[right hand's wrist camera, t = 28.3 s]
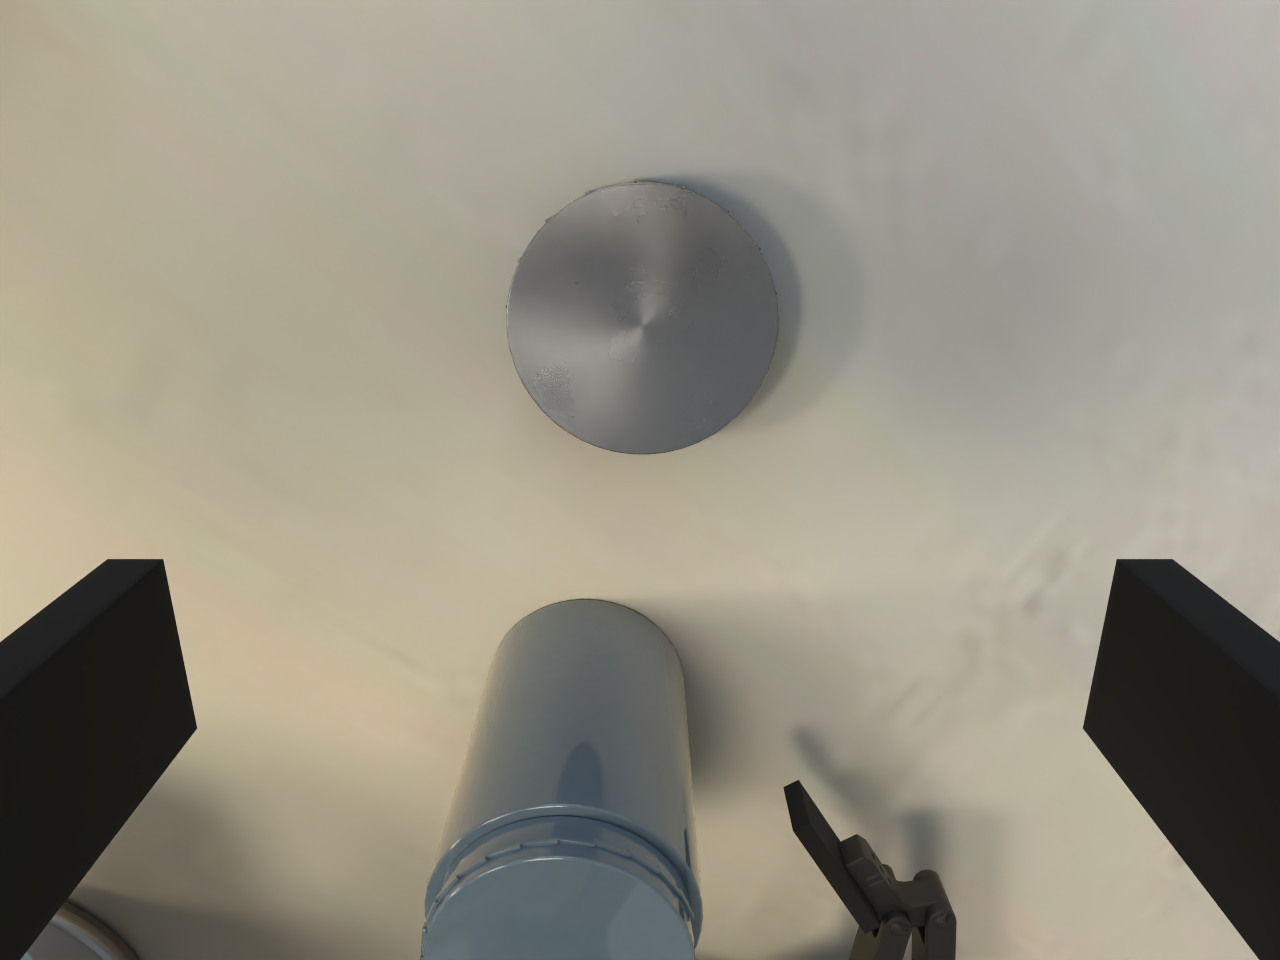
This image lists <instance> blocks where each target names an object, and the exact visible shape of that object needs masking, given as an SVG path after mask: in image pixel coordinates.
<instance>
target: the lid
mask: <svg viewBox="0 0 1280 960" xmlns="http://www.w3.org/2000/svg"><path fill="white" fill-rule="evenodd" d="M728 213H729V211H728V210H726V209H725V208H723V209H721V208H720V207H719V206H717V205H716V204H714V203H713V202H711V201H709V200H708V199H706V198H705V197H703V196H701V195H698V194H696V193H694V192H692V191H690V190H688V189H686V187H684V186H681V187H678V186H674V185H671V184H665V183H658V182H639V181H637V179H634V182H627V183H619V184H615V185H611V186H607V187H603V188H600V189H598V190H595V191H593V192H591V191H590V190H589V191H587V192H586V195H584V196H582V197H580V198H578V199H577V200H575V201H573V202H572V203H570V204H569V205H567V206H566V207H565V208H564V209H562V210H561V211H560V212H558V213H557V214H556V215H555V216H553V217H549V218H548V219H547V220H546V224H545V225H544V226H543V227H542V228H541V229H540V230H539V231H538V233H537V234H536V235H535V237H534V238H533V240H532V241H531V242H530V244H529V245H528V246H527V248H526V250H525V252H524V254H523V256H522V257H521V258H520V259H519V260H518V262H519V263H518V266H517V268H516V271H515V274H514V276H513V279H512V283H511V287H510V292H509V296H508V304H507V306H506V308H507V335H508V341H509V347H510V351H511V355H512V358H513V361H514V365H515V367H516V370H517V372H518V374H519V376H520V379H521V381H522V383H523V384H524V386H525V388H526V389H527V391H528V393H529V394H530V396H531V397H532V399H533V400H534V401H535V402H536V404H537V405H538V406H539V407H540V409H541V410H542V411H543V412H544V413H545V414H546V415H547V416H548V417H549V418H550V419H551V420H553V421H554V422H555V423H556V424H557V425H559V426H560V427H561V428H563V429H564V430H565V431H567V432H568V433H570V434H572V435H573V436H575V437H577V438H579V439H580V440H582V441H584V442H587V443H589V444H592V445H594V446H597V447H599V448H603V449H607V450H610V451H614V452H621V453H628V454H656V453H665V452H669V451H674V450H678V449H682V448H685V447H687V446H690V445H693V444H695V443H698V442H700V441H702V440H704V439H706V438H707V437H709V436H711V435H713V434H714V433H716V432H717V431H719V430H720V429H722V428H723V427H725V426H726V425H727V424H728V423H729V422H731V421H732V420H733V419H734V418H735V417H736V416H737V415H738V414H739V413H740V412H741V411H742V410H743V409H744V408H745V406H746V405H747V404H748V403H749V402H750V401H751V399H752V398H753V396H754V395H755V393H756V392H757V390H758V389H759V387H760V385H761V383H762V381H763V379H764V377H765V375H766V373H767V371H768V368H769V366H770V363H771V360H772V357H773V354H774V349H775V344H776V340H777V328H778V309H777V299H776V295H777V293H776V291H775V289H774V284H773V281H772V278H771V275H770V272H769V269H768V266H767V264H766V262H765V260H764V258H763V256H762V254H761V252H760V247H759V246H758V245H756V244H755V243H754V241H753V240H752V238H751V237H750V235H749V234H748V233H747V232H746V231H745V230H744V229H743V228H742V227H741V225H740V224H739V223H738V222H737V221H736V220H735V219H733V218H732V217H731V216H730V215H729V214H728Z"/></svg>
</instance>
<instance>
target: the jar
mask: <svg viewBox="0 0 1280 960" xmlns="http://www.w3.org/2000/svg"><path fill="white" fill-rule="evenodd" d="M425 918H426V921H425V923H424V926H423V931H422V948H421V957H420V959H421V960H695V948H696V946H697V943H698V940H699V936H700V933H701V928H702V920H703V909H702V894H701V882H700V870H699V858H698V846H697V834H696V821H695V809H694V797H693V785H692V773H691V761H690V749H689V736H688V724H687V712H686V700H685V688H684V676H683V671H682V666H681V663H680V660H679V658H678V655H677V653H676V651H675V649H674V647H673V645H672V644H671V642H670V641H669V640H668V638H667V637H666V636H665V634H664V633H663V632H662V631H661V630H660V629H659V628H658V627H657V626H656V625H654V624H653V623H652V622H650V621H649V620H648V619H647V618H645V617H643V616H642V615H640V614H638V613H637V612H635V611H633V610H630V609H628V608H626V607H624V606H620V605H617V604H614V603H610V602H605V601H599V600H571V601H565V602H559V603H556V604H553V605H549V606H546V607H544V608H542V609H539V610H537V611H535V612H533V613H532V614H530V615H528V616H527V617H525V618H524V619H522V620H521V621H520V622H519V623H517V624H516V625H515V626H514V627H513V628H512V629H511V630H510V631H509V632H508V633H507V634H506V636H505V637H504V639H503V640H502V641H501V643H500V645H499V647H498V648H497V650H496V652H495V655H494V658H493V661H492V664H491V667H490V671H489V674H488V678H487V681H486V685H485V688H484V692H483V695H482V698H481V702H480V705H479V709H478V712H477V716H476V719H475V723H474V726H473V730H472V733H471V737H470V740H469V744H468V747H467V751H466V754H465V758H464V761H463V765H462V768H461V771H460V775H459V778H458V782H457V785H456V789H455V792H454V796H453V799H452V803H451V806H450V810H449V813H448V817H447V820H446V824H445V827H444V831H443V834H442V838H441V841H440V844H439V848H438V851H437V855H436V858H435V862H434V865H433V869H432V872H431V876H430V879H429V883H428V886H427V891H426V898H425Z"/></svg>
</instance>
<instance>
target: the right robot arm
mask: <svg viewBox="0 0 1280 960" xmlns="http://www.w3.org/2000/svg"><path fill="white" fill-rule="evenodd" d="M196 729H197V726H196V721H195V716H194V711H193V706H192V701H191V696H190V691H189V686H188V681H187V676H186V671H185V666H184V661H183V656H182V651H181V646H180V641H179V636H178V631H177V626H176V621H175V616H174V611H173V606H172V601H171V596H170V591H169V586H168V581H167V576H166V571H165V566H164V561H163V559H107V560H106V561H105V562H103V563H102V564H101V565H99V566H98V567H97V568H96V569H94V570H93V571H92V572H90V573H89V574H88V575H87V576H85V577H84V578H83V579H81V580H80V581H79V582H77V583H76V584H75V585H74V586H72V587H71V588H70V589H68V590H67V591H66V592H65V593H63V594H62V595H61V596H59V597H58V598H57V599H56V600H54V601H53V602H52V603H50V604H49V605H48V606H46V607H45V608H44V609H43V610H41V611H40V612H39V613H37V614H36V615H35V616H34V617H32V618H31V619H30V620H28V621H27V622H26V623H24V624H23V625H22V626H21V627H19V628H18V629H17V630H15V631H14V632H13V633H12V634H10V635H9V636H8V637H6V638H5V639H4V640H3V641H1V642H0V960H21V959H22V957H23V956H24V955H25V953H26V952H27V951H28V949H29V948H30V947H31V945H32V944H33V943H34V941H35V940H36V939H37V938H38V936H39V935H40V934H41V932H42V931H43V930H44V928H45V927H46V926H47V924H48V923H49V922H50V920H51V919H52V918H53V917H54V915H55V914H56V913H57V911H58V910H59V909H60V907H61V906H62V905H63V903H64V902H65V901H66V899H67V898H68V897H69V896H70V894H71V893H72V892H73V890H74V889H75V888H76V886H77V885H78V884H79V882H80V881H81V880H82V879H83V877H84V876H85V875H86V873H87V872H88V871H89V869H90V868H91V867H92V865H93V864H94V863H95V861H96V860H97V859H98V858H99V856H100V855H101V854H102V852H103V851H104V850H105V848H106V847H107V846H108V844H109V843H110V842H111V840H112V839H113V838H114V837H115V835H116V834H117V833H118V831H119V830H120V829H121V827H122V826H123V825H124V823H125V822H126V821H127V819H128V818H129V817H130V816H131V814H132V813H133V812H134V810H135V809H136V808H137V806H138V805H139V804H140V802H141V801H142V800H143V799H144V797H145V796H146V795H147V793H148V792H149V791H150V789H151V788H152V787H153V785H154V784H155V783H156V781H157V780H158V779H159V778H160V776H161V775H162V774H163V772H164V771H165V770H166V768H167V767H168V766H169V764H170V763H171V762H172V760H173V759H174V758H175V757H176V755H177V754H178V753H179V751H180V750H181V749H182V747H183V746H184V745H185V743H186V742H187V741H188V739H189V738H190V737H191V736H192V734H193V733H194V732H195V730H196ZM1083 729H1084V730H1085V732H1086V733H1087V734H1088V736H1089V737H1090V738H1091V739H1092V741H1093V742H1094V743H1095V745H1096V746H1097V747H1098V749H1099V750H1100V751H1101V753H1102V754H1103V755H1104V757H1105V758H1106V759H1107V760H1108V762H1109V763H1110V764H1111V766H1112V767H1113V768H1114V770H1115V771H1116V772H1117V774H1118V775H1119V776H1120V778H1121V779H1122V780H1123V781H1124V783H1125V784H1126V785H1127V787H1128V788H1129V789H1130V791H1131V792H1132V793H1133V795H1134V796H1135V797H1136V799H1137V800H1138V801H1139V802H1140V804H1141V805H1142V806H1143V808H1144V809H1145V810H1146V812H1147V813H1148V814H1149V816H1150V817H1151V818H1152V819H1153V821H1154V822H1155V823H1156V825H1157V826H1158V827H1159V829H1160V830H1161V831H1162V833H1163V834H1164V835H1165V837H1166V838H1167V839H1168V840H1169V842H1170V843H1171V844H1172V846H1173V847H1174V848H1175V850H1176V851H1177V852H1178V854H1179V855H1180V856H1181V858H1182V859H1183V860H1184V861H1185V863H1186V864H1187V865H1188V867H1189V868H1190V869H1191V871H1192V872H1193V873H1194V875H1195V876H1196V877H1197V879H1198V880H1199V881H1200V882H1201V884H1202V885H1203V886H1204V888H1205V889H1206V890H1207V892H1208V893H1209V894H1210V896H1211V897H1212V898H1213V899H1214V901H1215V902H1216V903H1217V905H1218V906H1219V907H1220V909H1221V910H1222V911H1223V913H1224V914H1225V915H1226V917H1227V918H1228V919H1229V920H1230V922H1231V923H1232V924H1233V926H1234V927H1235V928H1236V930H1237V931H1238V932H1239V934H1240V935H1241V936H1242V938H1243V939H1244V940H1245V941H1246V943H1247V944H1248V945H1249V947H1250V948H1251V949H1252V951H1253V952H1254V953H1255V955H1256V956H1257V957H1258V959H1259V960H1280V642H1279V641H1277V640H1276V639H1275V638H1274V637H1272V636H1271V635H1270V634H1268V633H1267V632H1266V631H1265V630H1263V629H1262V628H1261V627H1259V626H1258V625H1257V624H1256V623H1254V622H1253V621H1252V620H1250V619H1249V618H1248V617H1246V616H1245V615H1244V614H1243V613H1241V612H1240V611H1239V610H1237V609H1236V608H1235V607H1234V606H1232V605H1231V604H1230V603H1228V602H1227V601H1226V600H1224V599H1223V598H1222V597H1221V596H1219V595H1218V594H1217V593H1215V592H1214V591H1213V590H1212V589H1210V588H1209V587H1208V586H1206V585H1205V584H1204V583H1203V582H1201V581H1200V580H1199V579H1197V578H1196V577H1195V576H1193V575H1192V574H1191V573H1190V572H1188V571H1187V570H1186V569H1184V568H1183V567H1182V566H1181V565H1179V564H1178V563H1177V562H1175V561H1174V560H1173V559H1117V561H1116V566H1115V571H1114V576H1113V581H1112V586H1111V591H1110V596H1109V601H1108V606H1107V611H1106V616H1105V621H1104V626H1103V631H1102V636H1101V641H1100V646H1099V651H1098V656H1097V661H1096V666H1095V671H1094V676H1093V681H1092V686H1091V691H1090V696H1089V701H1088V706H1087V711H1086V716H1085V721H1084V726H1083Z"/></svg>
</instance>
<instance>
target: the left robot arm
mask: <svg viewBox="0 0 1280 960" xmlns="http://www.w3.org/2000/svg"><path fill="white" fill-rule="evenodd" d="M784 792H785V796H786V801H787V805H788V810H789V814H790V819H791V823H792V828H793V831H794V833H795V834H796V836H797V837H798V838H799V840H800V841H801V843H802V844H803V846H804V847H805V848H806V850H807V851H808V853H809V854H810V856H811V857H812V858H813V860H814V861H815V863H816V864H817V866H818V867H819V869H820V870H821V871H822V873H823V874H824V876H825V877H826V879H827V880H828V881H829V883H830V884H831V886H832V887H833V889H834V890H835V891H836V893H837V894H838V896H839V897H840V899H841V900H842V901H843V903H844V904H845V906H846V907H847V909H848V910H849V911H850V913H851V914H852V916H853V917H854V919H855V920H856V921H857V923H858V924H859V928H858V932H857V935H856V938H855V941H854V945H853V948H852V951H851V955H850V958H849V960H902V959H903V956H904V953H905V950H906V947H907V944H908V940H909V937H910V934H911V931H912V960H955V948H956V917H955V915H954V912H953V910H952V907H951V905H950V903H949V900H948V898H947V895H946V893H945V890H944V888H943V885H942V883H941V881H940V878H939V876H938V874H937V873H936V872H934V871H932V870H923V871H920V872H918V873H917V874H916V875H915V876H914V878H913V881H908V882H901V881H897V880H896V879H895V876H894V873H893V871H892V868H891V867H889V866H888V865H885V864H882V863H881V862H880V860H879V859H878V857H877V856H876V854H875V853H874V851H873V850H872V848H871V847H870V845H869V844H868V842H867V841H866V840H865V839H864V838H862V837H860V836H859V835H857V834H856V835H854V836H852V837H850V838H848V839H846V840H843V841H841V842H840V840H839V839H838V837H837V836H836V834H835V833H834V831H833V830H832V828H831V827H830V825H829V824H828V823H827V821H826V820H825V818H824V817H823V815H822V814H821V812H820V811H819V809H818V808H817V806H816V805H815V803H814V802H813V800H812V799H811V798H810V796H809V795H808V793H807V792H806V790H805V789H804V787H803V786H802V784H801V783H800V781H799V780H797V781H795V782H793V783H791V784H789V785H787V786H785V787H784ZM21 960H137V958H136V957H135V955H134V954H133V953H132V952H131V950H130V949H129V948H128V947H127V945H126V944H125V943H124V942H123V941H122V940H121V939H120V938H119V937H118V936H117V935H116V934H114V933H113V932H112V931H111V930H110V929H109V928H108V927H106V926H105V925H104V924H102V923H101V922H100V921H98V920H97V919H95V918H94V917H92V916H91V915H89V914H87V913H86V912H84V911H82V910H81V909H79V908H77V907H75V906H73V905H71V904H69V903H67V902H64V903H63V905H62V906H61V907H60V909H59V910H58V911H57V913H56V914H55V915H54V917H53V918H52V919H51V920H50V922H49V923H48V924H47V926H46V927H45V928H44V930H43V931H42V932H41V934H40V935H39V936H38V938H37V939H36V940H35V941H34V943H33V944H32V945H31V947H30V948H29V949H28V951H27V952H26V953H25V955H24V956H23V957H22V959H21Z"/></svg>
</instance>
